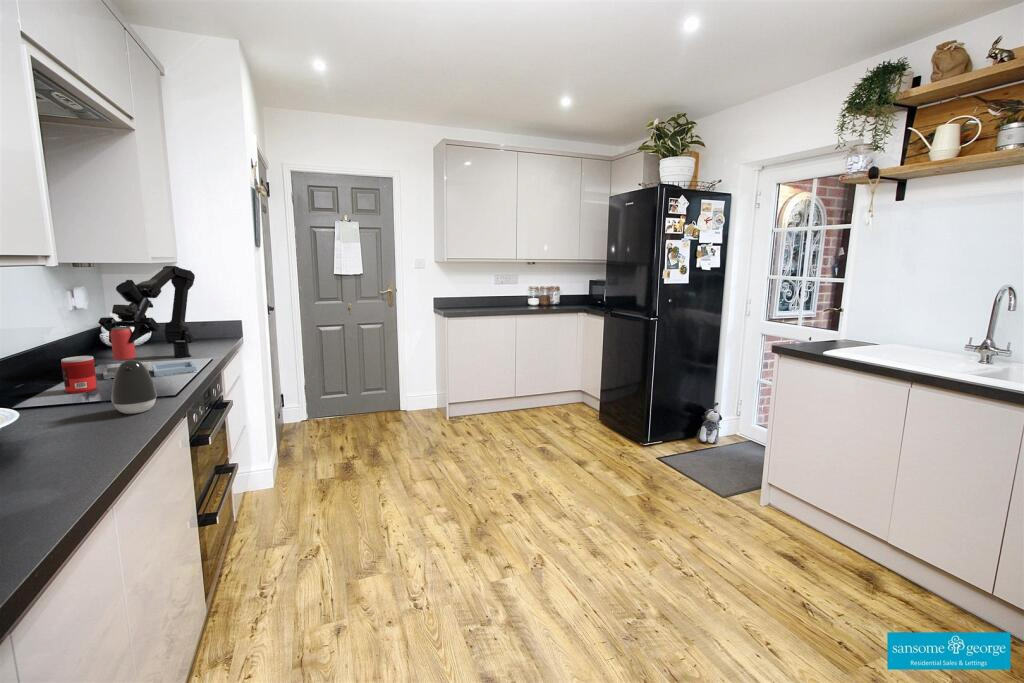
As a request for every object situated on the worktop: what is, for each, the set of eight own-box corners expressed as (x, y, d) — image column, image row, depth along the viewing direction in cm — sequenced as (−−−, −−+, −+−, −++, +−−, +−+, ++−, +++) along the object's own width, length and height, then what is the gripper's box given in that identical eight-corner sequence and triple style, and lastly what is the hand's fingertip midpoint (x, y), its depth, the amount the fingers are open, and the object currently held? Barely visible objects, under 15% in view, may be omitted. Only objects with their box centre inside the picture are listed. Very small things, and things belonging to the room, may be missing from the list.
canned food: (103, 387, 161) (99, 356, 159) (80, 394, 153) (75, 360, 151) (83, 387, 162) (78, 355, 160) (58, 393, 154) (54, 360, 152)
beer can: (111, 361, 175) (107, 329, 173) (116, 358, 181) (112, 327, 179) (133, 360, 178) (129, 328, 176) (137, 356, 184) (134, 326, 182)
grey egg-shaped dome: (107, 418, 130) (100, 364, 128) (120, 408, 140) (114, 357, 137) (152, 414, 134) (146, 362, 132) (162, 404, 144) (157, 355, 141)
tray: (152, 370, 186) (152, 365, 186) (192, 366, 195) (191, 361, 194) (155, 377, 177) (154, 371, 176) (196, 372, 185) (196, 366, 184)
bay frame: (104, 373, 181) (103, 368, 181) (147, 368, 189) (146, 364, 189) (104, 380, 171) (103, 374, 171) (149, 375, 179) (148, 369, 179)
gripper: (98, 296, 178) (78, 329, 170) (150, 296, 180) (133, 329, 171) (116, 314, 188) (98, 347, 179) (166, 314, 189) (151, 347, 180)
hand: (120, 342), depth 177 cm, fingers closed on beer can, 7 cm apart
